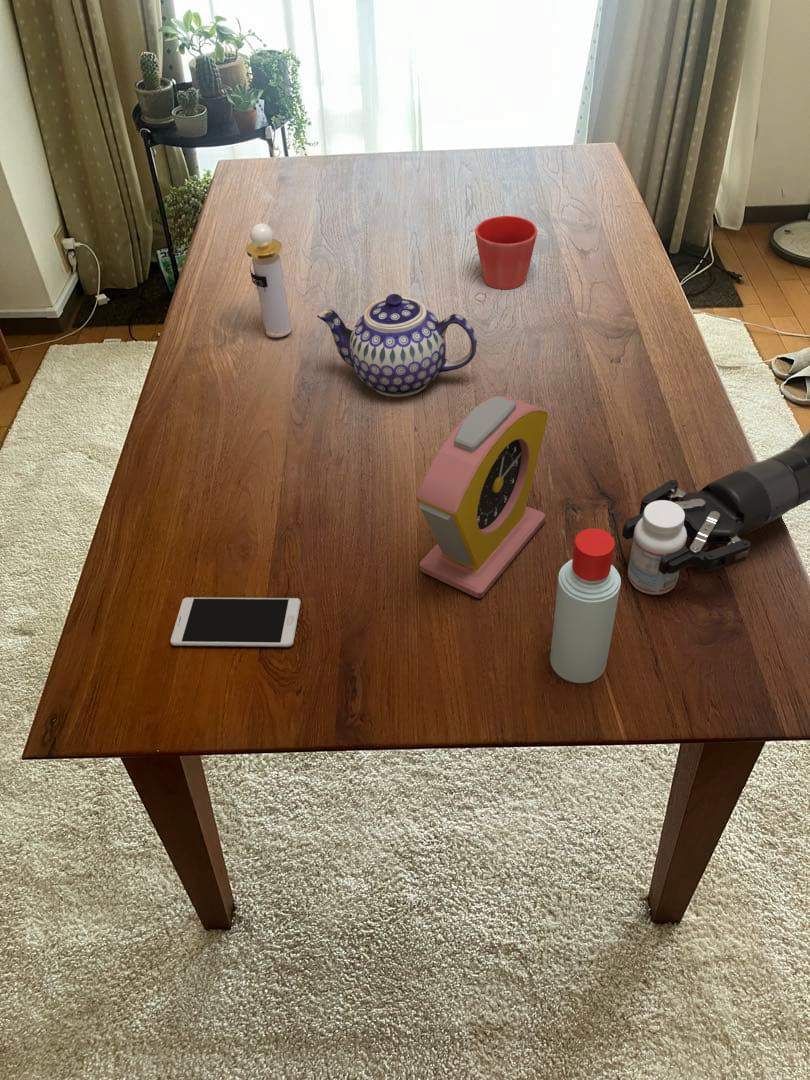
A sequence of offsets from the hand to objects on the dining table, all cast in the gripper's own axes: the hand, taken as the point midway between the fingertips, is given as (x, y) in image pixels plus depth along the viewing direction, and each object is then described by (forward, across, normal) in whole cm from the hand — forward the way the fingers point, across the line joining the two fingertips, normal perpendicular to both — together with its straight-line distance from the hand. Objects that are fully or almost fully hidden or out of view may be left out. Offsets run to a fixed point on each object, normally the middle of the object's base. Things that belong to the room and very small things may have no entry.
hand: (643, 549), depth 106 cm
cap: (+13, +6, -9) cm, 17 cm away
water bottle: (+13, +6, +6) cm, 15 cm away
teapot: (+3, -55, +7) cm, 55 cm away
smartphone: (+45, -20, +6) cm, 50 cm away
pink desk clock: (+12, -16, +7) cm, 21 cm away
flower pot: (-28, -72, +7) cm, 77 cm away
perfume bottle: (+15, -78, +7) cm, 80 cm away
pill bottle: (-2, 0, +7) cm, 7 cm away
